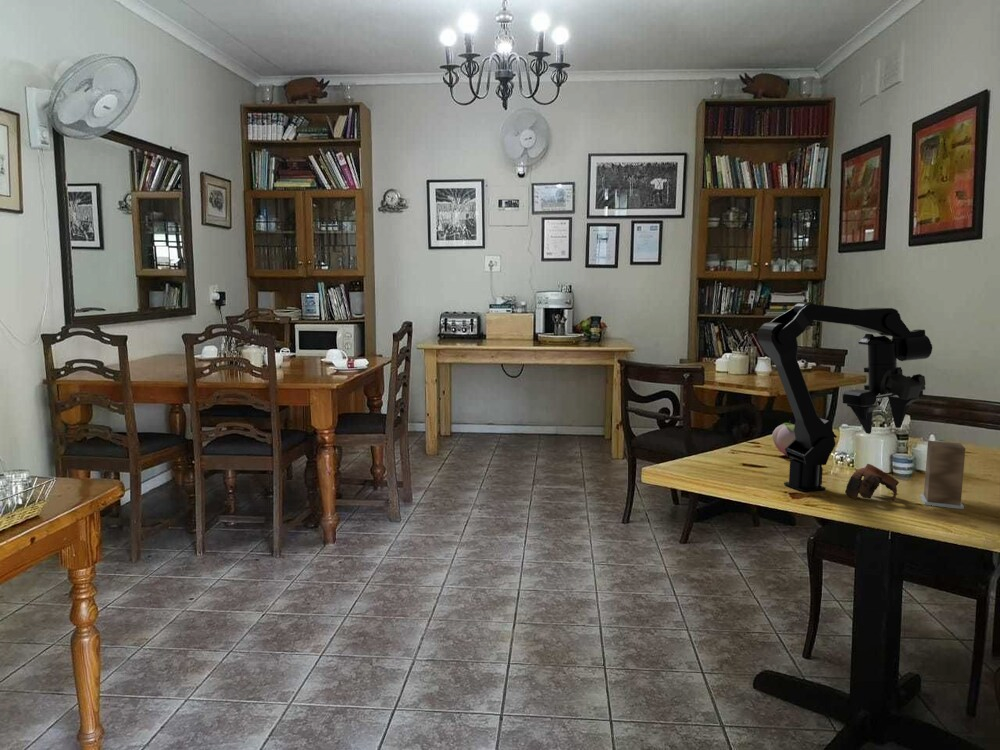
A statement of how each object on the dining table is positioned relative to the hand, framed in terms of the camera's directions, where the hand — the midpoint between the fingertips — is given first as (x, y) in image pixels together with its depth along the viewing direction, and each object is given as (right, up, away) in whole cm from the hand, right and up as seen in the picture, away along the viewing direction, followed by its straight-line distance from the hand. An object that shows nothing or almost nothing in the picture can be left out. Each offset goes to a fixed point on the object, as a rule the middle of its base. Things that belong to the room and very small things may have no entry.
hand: (883, 430), depth 166 cm
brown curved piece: (-8, -14, -9) cm, 18 cm away
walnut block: (+6, -14, -12) cm, 19 cm away
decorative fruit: (-9, -10, +31) cm, 34 cm away
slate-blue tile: (+6, -14, -12) cm, 20 cm away
